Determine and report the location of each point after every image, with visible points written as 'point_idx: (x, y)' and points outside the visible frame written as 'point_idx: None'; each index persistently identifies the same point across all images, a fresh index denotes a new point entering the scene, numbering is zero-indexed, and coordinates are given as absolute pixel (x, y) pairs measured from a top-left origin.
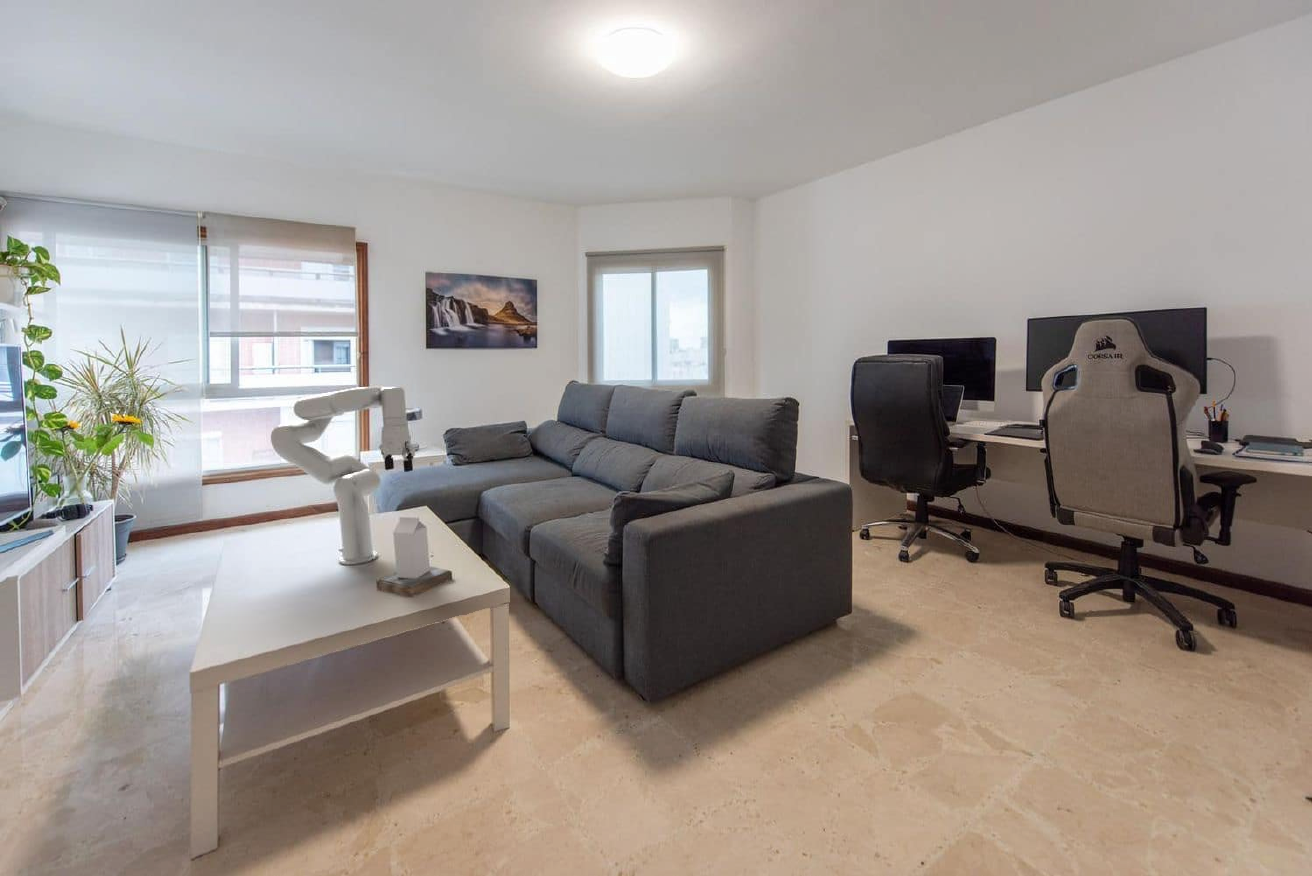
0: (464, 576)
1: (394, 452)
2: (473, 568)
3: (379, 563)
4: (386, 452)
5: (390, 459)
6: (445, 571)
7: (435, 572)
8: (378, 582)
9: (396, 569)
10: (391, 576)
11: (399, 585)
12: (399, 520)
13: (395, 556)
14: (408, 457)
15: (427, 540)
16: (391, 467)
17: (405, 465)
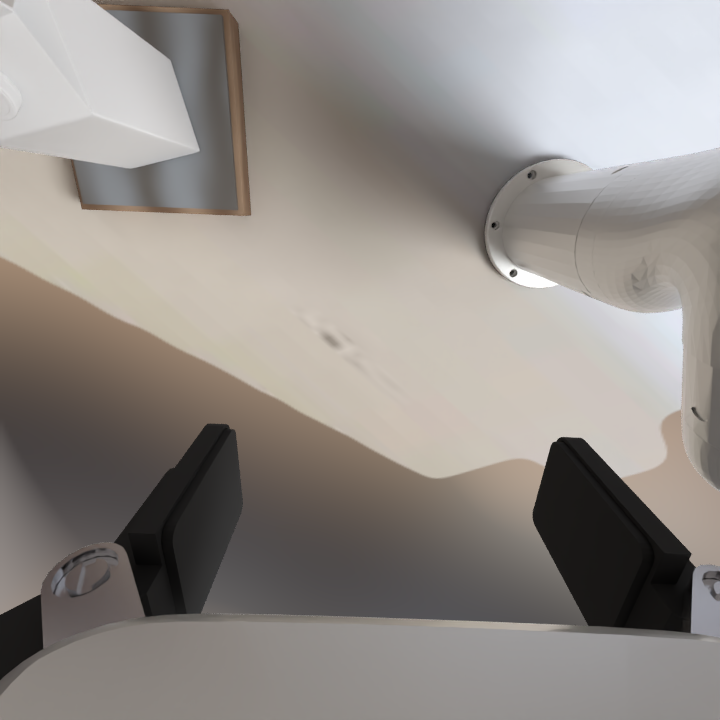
0: (87, 240)
1: (253, 695)
2: (124, 303)
3: (438, 223)
4: (657, 683)
5: (608, 602)
6: (83, 189)
7: (103, 167)
8: (217, 11)
9: (154, 48)
10: (202, 62)
11: (103, 8)
12: (11, 6)
13: (121, 23)
14: (20, 621)
15: (42, 153)
16: (545, 505)
17: (173, 482)
